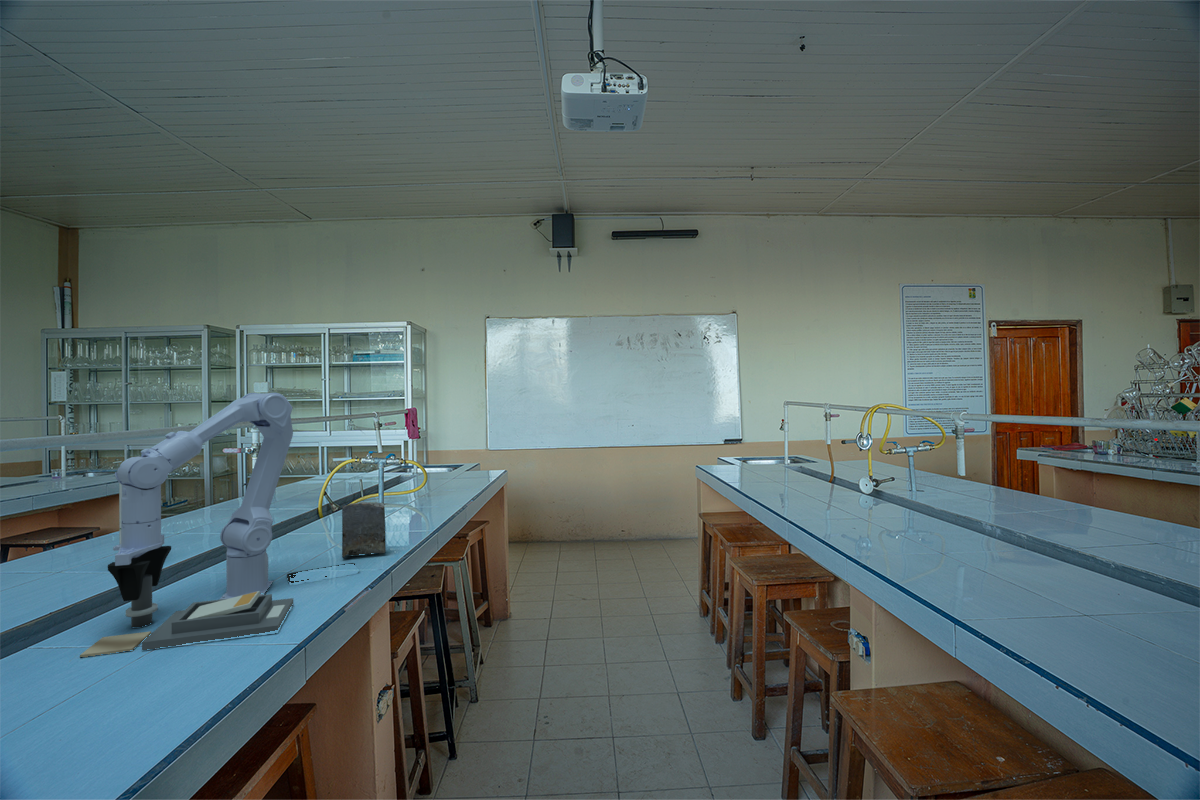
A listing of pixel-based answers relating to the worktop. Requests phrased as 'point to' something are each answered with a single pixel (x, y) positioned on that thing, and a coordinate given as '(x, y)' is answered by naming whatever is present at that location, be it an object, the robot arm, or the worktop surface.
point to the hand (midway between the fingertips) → (141, 592)
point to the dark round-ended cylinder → (142, 605)
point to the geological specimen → (363, 528)
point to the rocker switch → (225, 606)
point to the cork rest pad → (115, 644)
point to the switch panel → (219, 623)
